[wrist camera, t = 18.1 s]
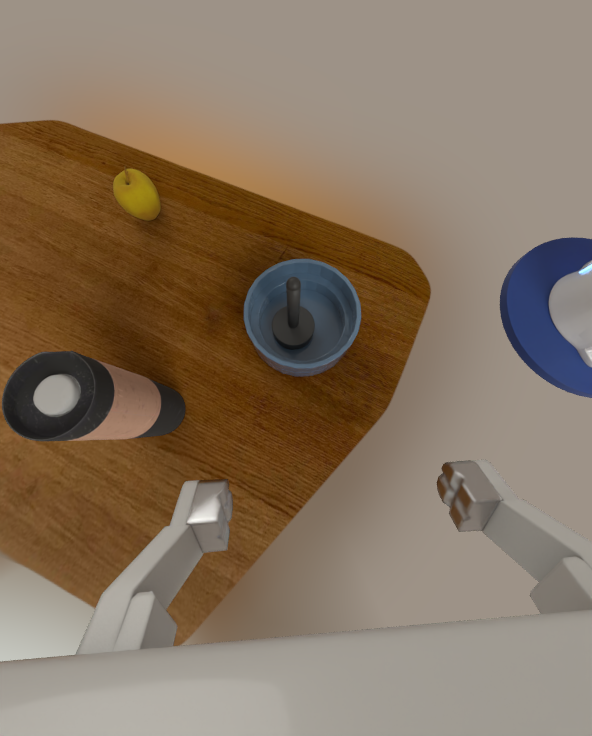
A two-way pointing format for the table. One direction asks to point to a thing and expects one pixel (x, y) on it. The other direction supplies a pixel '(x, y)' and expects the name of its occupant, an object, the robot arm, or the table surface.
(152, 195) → the yellow fruit
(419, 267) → the table surface
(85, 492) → the table surface
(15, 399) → the travel mug
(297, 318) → the joystick
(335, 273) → the bowl
